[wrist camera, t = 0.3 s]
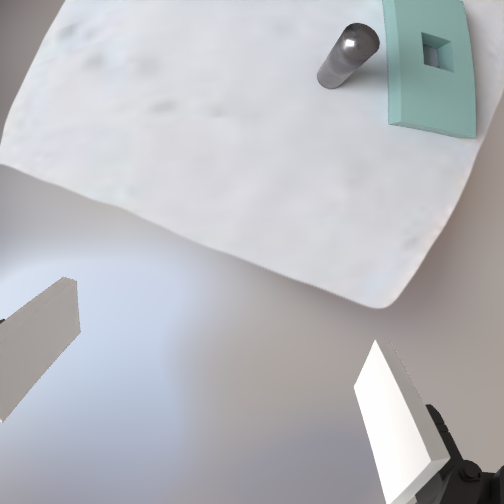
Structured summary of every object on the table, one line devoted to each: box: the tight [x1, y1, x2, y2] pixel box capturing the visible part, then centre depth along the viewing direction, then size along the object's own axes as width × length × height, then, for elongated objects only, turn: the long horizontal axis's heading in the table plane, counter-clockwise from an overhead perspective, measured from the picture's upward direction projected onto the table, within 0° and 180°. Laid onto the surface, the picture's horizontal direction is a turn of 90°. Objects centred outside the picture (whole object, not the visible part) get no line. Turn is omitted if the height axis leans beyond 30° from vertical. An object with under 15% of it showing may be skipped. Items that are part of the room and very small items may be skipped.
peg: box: [317, 23, 380, 89], centre depth 26 cm, size 3×3×14 cm
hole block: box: [382, 0, 476, 138], centre depth 28 cm, size 20×11×4 cm, turn 179°
